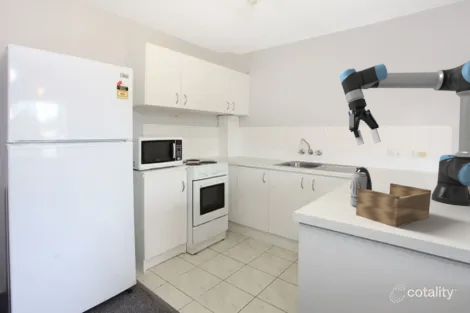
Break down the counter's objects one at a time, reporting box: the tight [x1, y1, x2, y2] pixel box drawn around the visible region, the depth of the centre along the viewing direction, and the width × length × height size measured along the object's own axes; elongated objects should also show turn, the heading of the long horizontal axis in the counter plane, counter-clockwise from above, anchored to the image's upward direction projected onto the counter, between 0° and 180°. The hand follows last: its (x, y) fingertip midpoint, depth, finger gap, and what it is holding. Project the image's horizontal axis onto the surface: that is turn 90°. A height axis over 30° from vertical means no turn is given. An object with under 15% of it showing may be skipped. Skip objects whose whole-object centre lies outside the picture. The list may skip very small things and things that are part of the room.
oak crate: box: [355, 182, 432, 228], centre depth 100 cm, size 15×24×11 cm, turn 120°
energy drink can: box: [349, 171, 367, 208], centre depth 113 cm, size 6×6×15 cm
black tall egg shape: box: [349, 166, 373, 191], centre depth 133 cm, size 10×10×15 cm
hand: (369, 143), depth 118 cm, fingers open, 13 cm apart
